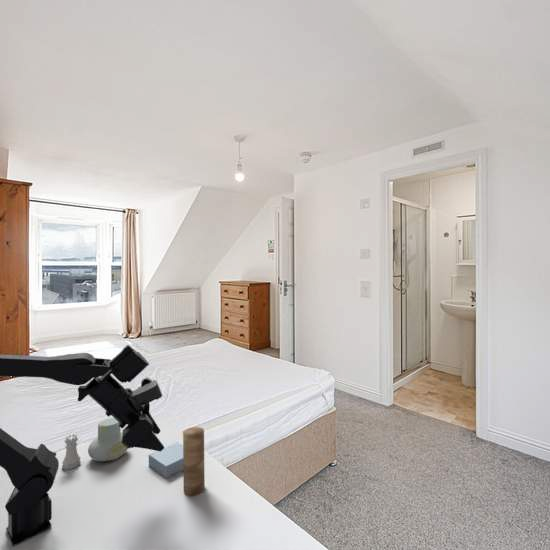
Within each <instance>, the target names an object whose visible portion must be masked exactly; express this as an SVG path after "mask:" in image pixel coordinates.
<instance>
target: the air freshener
mask: <svg viewBox="0 0 550 550" xmlns="http://www.w3.org/2000/svg"><path fill="white" fill-rule="evenodd" d="M122 432H123V431H122V429H121V427H120V426H119V422H118V421H117V420H116V419H115V418H114V417H112V418H106V419H103V420H101V421H100V422H98V424H97V437H95V438H94V439H93V440H92V441H91V442H90V443H89V445H88V448H87V454H88V456H89V457H90V458H91V459H93V460H94V461H97V462H111V461H115V460H117V459H118V458H120V457H121V456H123V454H125V453H126V452H127V450H128V448H127V447H126V446H125V445H123V444H122Z"/></svg>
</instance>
